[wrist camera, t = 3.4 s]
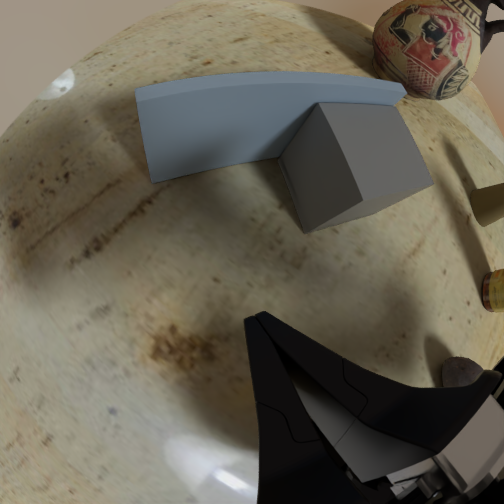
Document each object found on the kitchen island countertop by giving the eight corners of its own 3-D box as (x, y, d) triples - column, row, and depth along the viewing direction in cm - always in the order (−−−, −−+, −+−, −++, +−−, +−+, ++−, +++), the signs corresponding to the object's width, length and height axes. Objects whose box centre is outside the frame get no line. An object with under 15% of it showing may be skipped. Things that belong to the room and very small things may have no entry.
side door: (346, 148, 26) (407, 93, 16) (151, 183, 20) (136, 102, 11) (342, 140, 26) (401, 83, 16) (149, 173, 21) (134, 88, 11)
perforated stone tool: (424, 372, 24) (471, 381, 18) (446, 338, 26) (491, 339, 19) (453, 430, 24) (489, 440, 18) (471, 401, 26) (506, 407, 19)
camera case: (372, 214, 25) (434, 184, 17) (304, 234, 23) (363, 200, 15) (346, 151, 26) (395, 106, 18) (277, 160, 24) (318, 102, 16)
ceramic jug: (336, 55, 30) (448, -88, 1) (376, 40, 34) (463, -59, 6) (423, 143, 30) (575, 38, 2) (443, 108, 35) (550, 29, 6)
